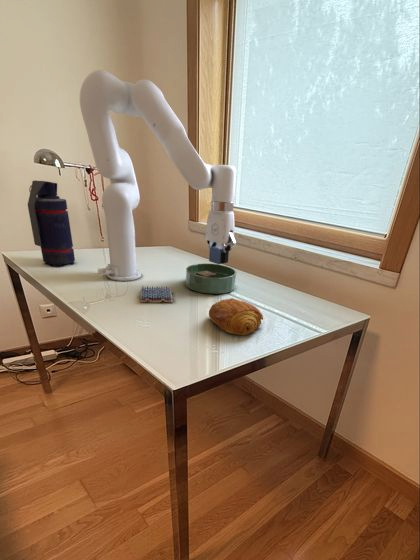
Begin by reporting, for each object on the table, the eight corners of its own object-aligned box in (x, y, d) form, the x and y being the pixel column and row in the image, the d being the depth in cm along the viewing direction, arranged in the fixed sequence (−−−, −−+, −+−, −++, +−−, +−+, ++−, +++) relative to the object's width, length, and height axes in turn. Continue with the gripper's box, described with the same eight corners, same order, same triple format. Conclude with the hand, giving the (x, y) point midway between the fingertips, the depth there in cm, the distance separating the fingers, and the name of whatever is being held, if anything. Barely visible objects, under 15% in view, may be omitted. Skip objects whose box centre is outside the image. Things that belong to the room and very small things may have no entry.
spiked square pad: (139, 303, 100) (139, 297, 99) (140, 291, 109) (140, 285, 108) (173, 303, 101) (173, 297, 100) (171, 291, 110) (171, 286, 109)
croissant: (223, 346, 83) (227, 321, 79) (201, 315, 94) (203, 291, 89) (270, 337, 89) (276, 313, 84) (244, 309, 100) (248, 286, 95)
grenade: (64, 258, 138) (51, 179, 123) (81, 263, 132) (70, 182, 117) (33, 263, 128) (15, 179, 113) (50, 270, 122) (33, 182, 107)
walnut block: (205, 290, 113) (205, 276, 110) (195, 286, 116) (196, 272, 113) (215, 287, 116) (216, 273, 113) (205, 283, 119) (206, 270, 116)
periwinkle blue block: (218, 264, 113) (219, 249, 111) (208, 261, 116) (209, 246, 114) (228, 262, 116) (229, 248, 114) (218, 259, 119) (219, 245, 117)
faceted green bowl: (209, 298, 107) (210, 281, 104) (175, 283, 118) (176, 267, 115) (244, 288, 118) (246, 272, 115) (210, 275, 129) (211, 261, 126)
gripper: (197, 204, 110) (195, 257, 119) (233, 210, 100) (228, 268, 109) (212, 203, 115) (209, 255, 124) (248, 209, 104) (242, 265, 113)
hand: (218, 260), depth 116 cm, fingers closed on periwinkle blue block, 5 cm apart
